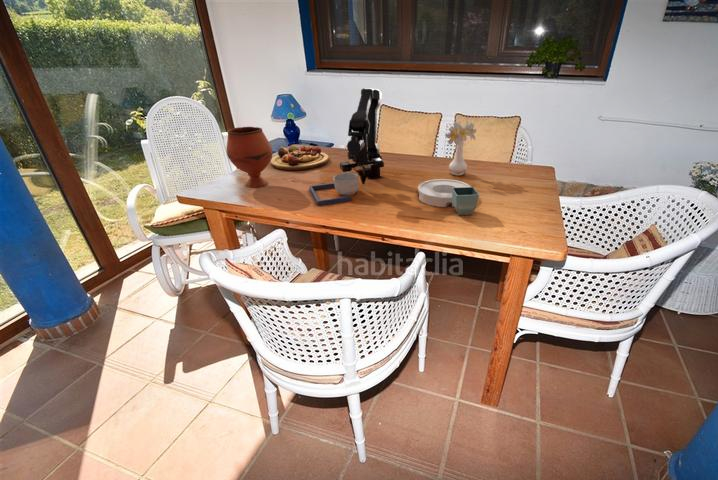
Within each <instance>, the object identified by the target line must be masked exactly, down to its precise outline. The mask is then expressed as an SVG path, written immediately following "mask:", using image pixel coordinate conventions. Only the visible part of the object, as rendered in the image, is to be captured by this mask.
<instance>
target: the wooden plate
mask: <svg viewBox="0 0 718 480" xmlns="http://www.w3.org/2000/svg"><path fill="white" fill-rule="evenodd" d="M329 160H330V157H329V155H328V154H327V153H325V152H322V148H321V147H320V146H314V145H313V146H312V147H311V146H306V145H302V146H301V147H300V148H299V147H298V146H297V145H295V144H292V145H290V146H289V148H288V150H287V148H285V147H283V146H280V147H279V148H278V150H277V155H275V156H274V157H272V159H271V161H270V163H269V164H270V165H271V166H272V168H275V169H279V170H288V171H299V170H309V169H314V168H319V167H321V166H324V165H325V164H327V163H328V162H329Z"/></svg>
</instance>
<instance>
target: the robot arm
mask: <svg viewBox="0 0 718 480" xmlns="http://www.w3.org/2000/svg"><path fill="white" fill-rule="evenodd" d="M382 97H383V95H382V91H380V89H379V88H371V87H370V88H361V89H360V97H359V102H358V104H357V105H358V106H357V108H356V109H357V110H356V111H355V112H354V113H352V115H351V118H350V119H349V123H348V131H347V136H348V137H350V140H349V141H348V142H347V144H346V149H347V159H348V160H349V161H341V162H340V163H339V169H340V171H342V173H346V172H351V171H352V170H353V171H354V172H355V173H356V174H357V175H358V177H359V178H360V181H361V184H362V185H365V183H366V181H367V179H369V180H370V179H379V178H382V175H381V168H384V167H385V161H384V160H383V156H382V154H381V152H380V147H379V146H378V143H377V131H378V127H377V126H378V125H377V124H378V121H377V120H378V119H377V118H378V109H379V108H380V106H381V102H382ZM350 160H352V163H351V162H350Z"/></svg>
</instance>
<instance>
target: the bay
mask: <svg viewBox="0 0 718 480" xmlns="http://www.w3.org/2000/svg"><path fill="white" fill-rule="evenodd" d="M308 187H309V191H310V193H311V195H312V197H313V199H314V200H315V203H316V204H317V206H323V205H331V204H339V203H344V202H345V203H346V202H351V201H352V198H351V197H352V196H351V195H350V196H339V197H333V198H326V199H319V197H318V195H317V193H316V190H323V189H330V188H335V185H334V182H330V183H322V184H314V185H309V186H308Z"/></svg>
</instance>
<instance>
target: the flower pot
mask: <svg viewBox="0 0 718 480" xmlns="http://www.w3.org/2000/svg"><path fill="white" fill-rule="evenodd" d="M479 198H480V193H479V192H478V191H477V190H476V188H475V187H474V186H471V187H460V188H452V199H453V204H454V207H453V208H454V210H455V212H456V213H457V215H459V216H467V215H468V216H470V215H472V214H473V213H474V212H475V210H476V209H477V205H478V202H479Z"/></svg>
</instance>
